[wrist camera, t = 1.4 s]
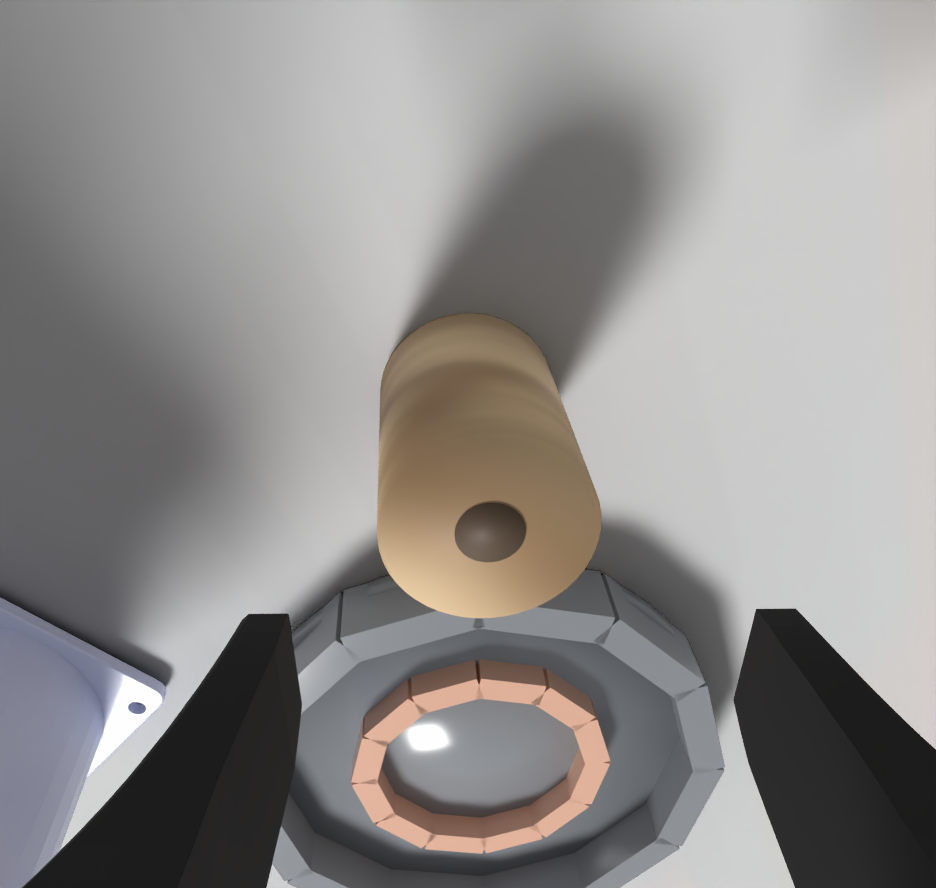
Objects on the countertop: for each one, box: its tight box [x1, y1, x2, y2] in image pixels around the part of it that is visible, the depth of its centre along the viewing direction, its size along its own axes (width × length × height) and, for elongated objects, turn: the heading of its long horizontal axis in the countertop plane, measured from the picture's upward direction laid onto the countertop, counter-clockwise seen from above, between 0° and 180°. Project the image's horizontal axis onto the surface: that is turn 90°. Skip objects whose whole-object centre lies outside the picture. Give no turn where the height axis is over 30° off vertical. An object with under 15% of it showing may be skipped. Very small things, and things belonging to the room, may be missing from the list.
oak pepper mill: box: [377, 313, 601, 618], centre depth 19 cm, size 4×4×6 cm
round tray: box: [272, 569, 725, 888], centre depth 27 cm, size 15×15×2 cm
